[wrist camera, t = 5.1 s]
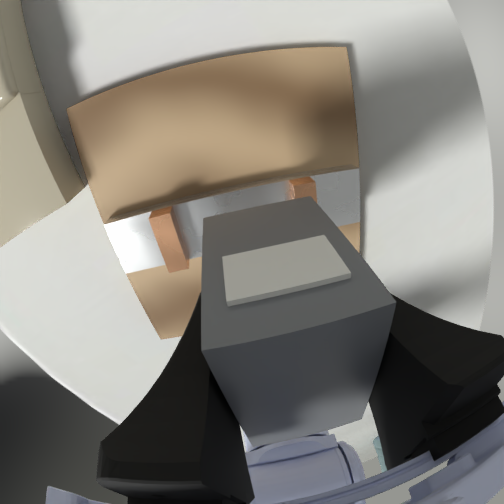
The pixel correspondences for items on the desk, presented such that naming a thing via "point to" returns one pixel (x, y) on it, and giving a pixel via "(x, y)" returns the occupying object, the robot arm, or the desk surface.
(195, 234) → the din rail
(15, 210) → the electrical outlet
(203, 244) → the block
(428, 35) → the desk surface
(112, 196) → the mounting board
